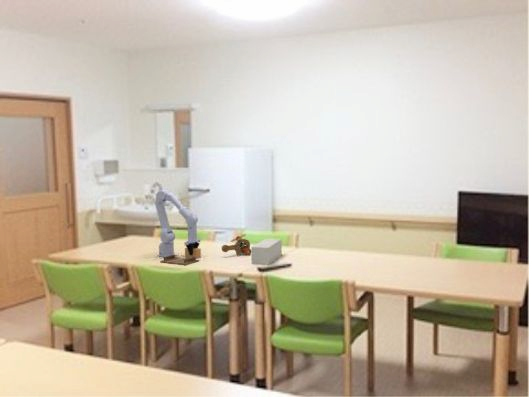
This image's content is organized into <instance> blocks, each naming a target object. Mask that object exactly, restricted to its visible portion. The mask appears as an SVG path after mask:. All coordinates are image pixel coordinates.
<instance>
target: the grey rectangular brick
mask: <svg viewBox="0 0 529 397" xmlns="http://www.w3.org/2000/svg"><path fill="white" fill-rule="evenodd" d="M250 247H251V248H250V249H251V265H264V266H268V265H270V264H272V263H273V262H274V261H275V260H277V259H278V258H280V257H281V256H282V255H283V254H282V248H283V246H282V238H264V239H263V240H261V241H259V242H258V243H255V244H254V245H252V246H250Z"/></svg>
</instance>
